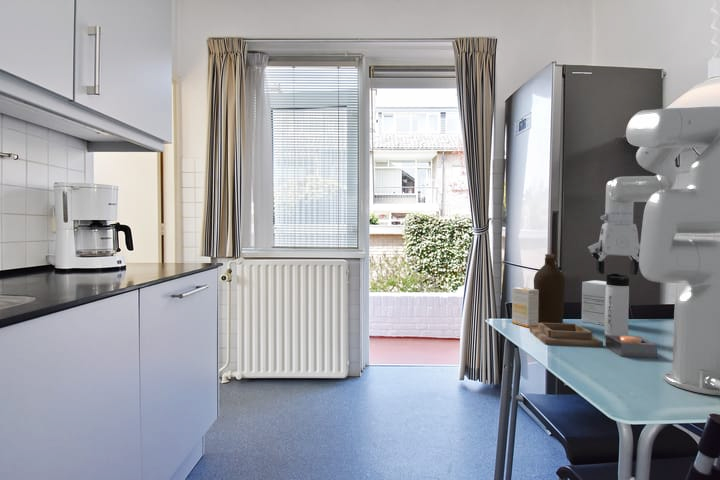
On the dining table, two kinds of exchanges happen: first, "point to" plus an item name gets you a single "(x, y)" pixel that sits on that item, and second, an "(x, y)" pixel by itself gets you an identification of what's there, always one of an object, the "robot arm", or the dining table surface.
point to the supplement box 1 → (525, 306)
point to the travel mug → (616, 305)
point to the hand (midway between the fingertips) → (616, 273)
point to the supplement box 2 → (593, 302)
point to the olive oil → (550, 292)
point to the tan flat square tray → (565, 334)
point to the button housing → (631, 347)
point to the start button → (630, 339)
